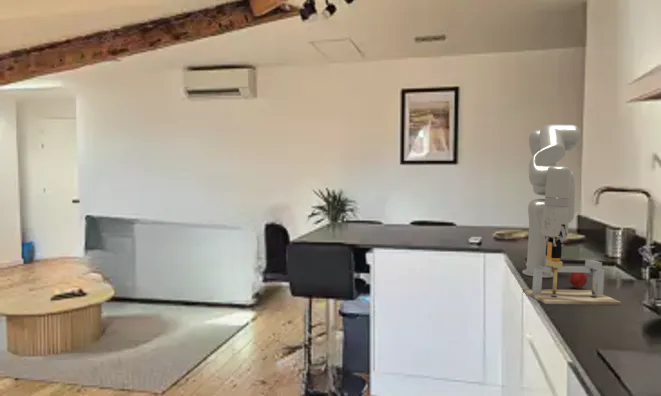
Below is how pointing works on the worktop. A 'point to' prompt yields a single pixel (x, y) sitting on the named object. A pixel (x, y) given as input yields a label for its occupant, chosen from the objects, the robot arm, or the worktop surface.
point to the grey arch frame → (590, 267)
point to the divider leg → (553, 265)
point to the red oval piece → (578, 279)
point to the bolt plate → (572, 297)
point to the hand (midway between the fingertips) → (553, 256)
